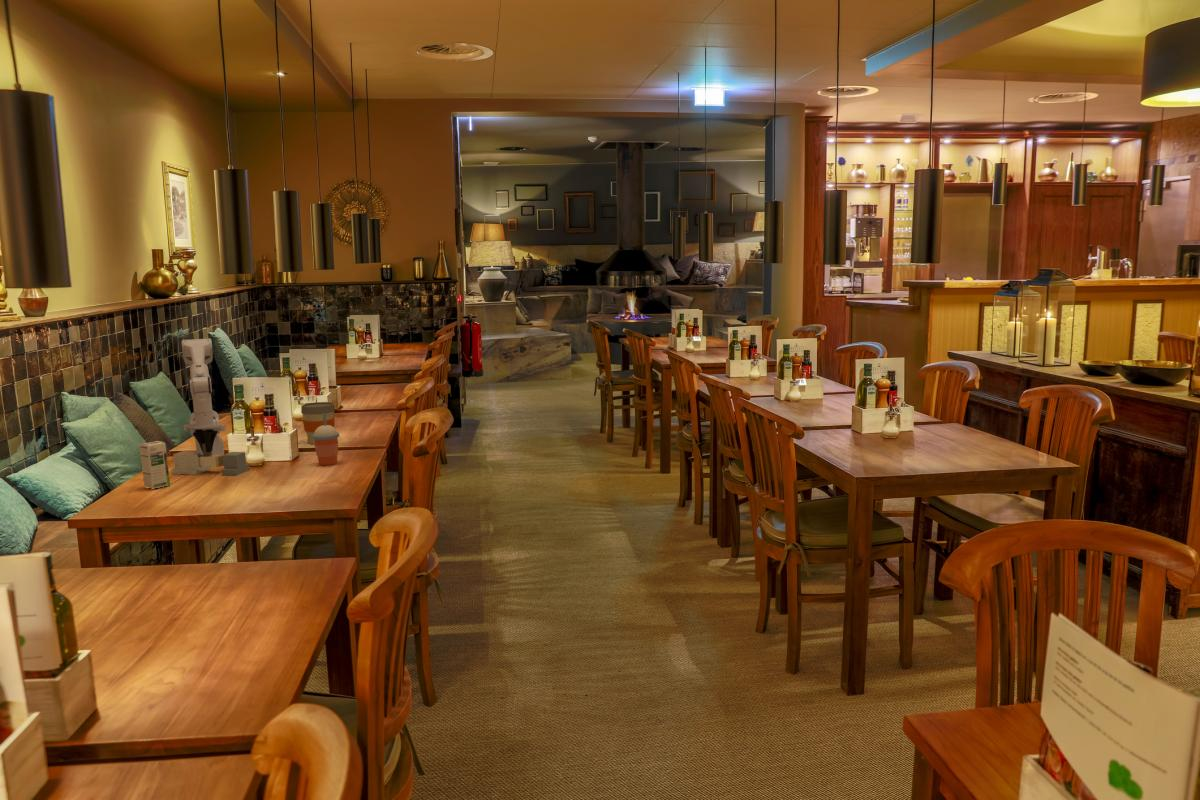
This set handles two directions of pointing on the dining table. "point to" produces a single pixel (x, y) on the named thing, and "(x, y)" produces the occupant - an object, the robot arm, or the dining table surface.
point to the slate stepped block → (234, 463)
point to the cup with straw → (326, 443)
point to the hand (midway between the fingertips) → (207, 451)
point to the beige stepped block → (188, 463)
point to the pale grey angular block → (210, 459)
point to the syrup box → (154, 464)
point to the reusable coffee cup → (316, 417)
